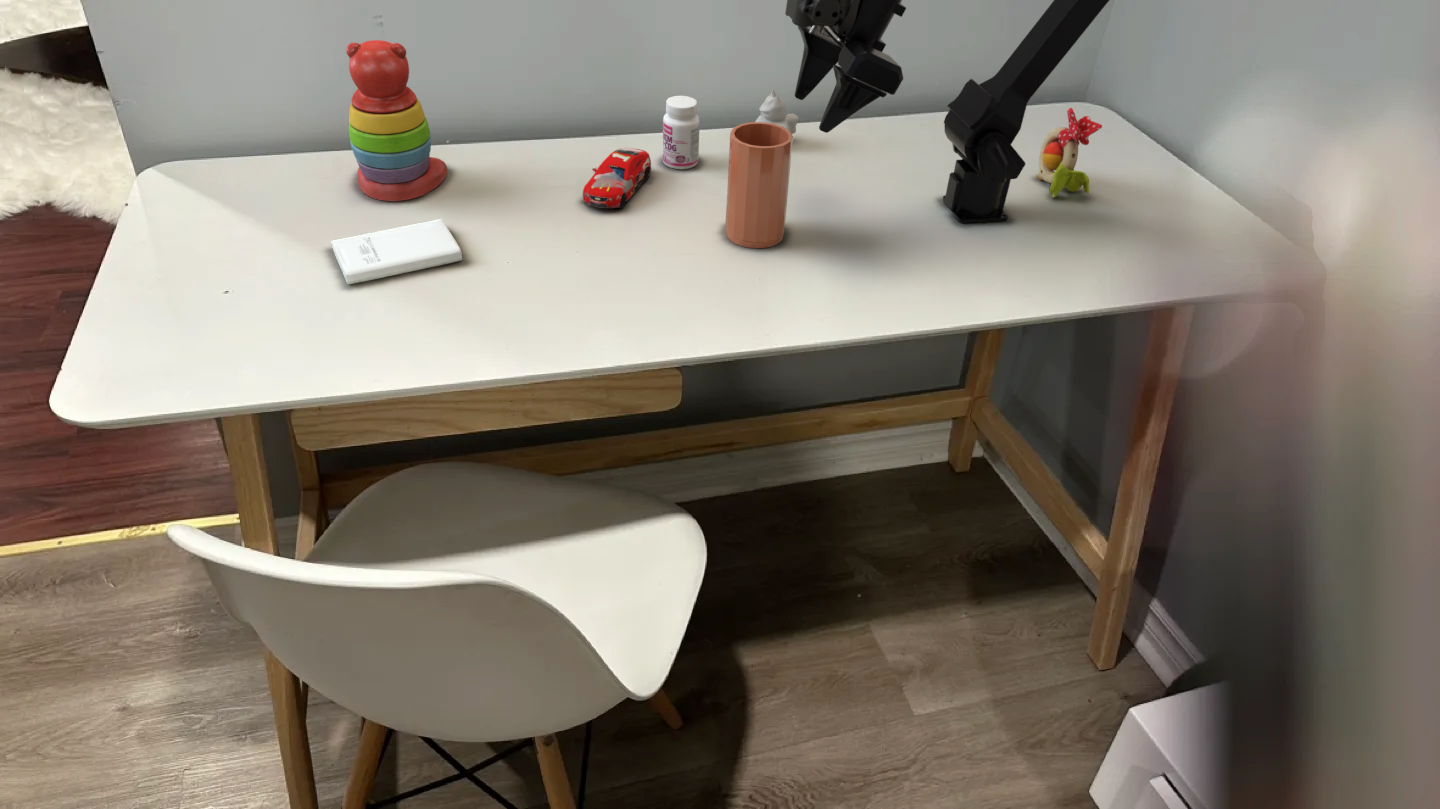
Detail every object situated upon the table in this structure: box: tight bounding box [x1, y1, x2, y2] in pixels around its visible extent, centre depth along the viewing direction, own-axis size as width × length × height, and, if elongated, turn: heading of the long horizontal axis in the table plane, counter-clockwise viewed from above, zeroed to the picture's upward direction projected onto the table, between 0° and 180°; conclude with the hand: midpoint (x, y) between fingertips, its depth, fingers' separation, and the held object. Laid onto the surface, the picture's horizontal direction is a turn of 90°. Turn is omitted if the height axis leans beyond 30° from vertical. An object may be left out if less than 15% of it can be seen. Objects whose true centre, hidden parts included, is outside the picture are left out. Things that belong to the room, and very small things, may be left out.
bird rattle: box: [1037, 107, 1103, 199], centre depth 129 cm, size 6×11×9 cm
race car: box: [582, 147, 652, 209], centre depth 125 cm, size 13×5×4 cm, turn 161°
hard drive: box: [330, 218, 463, 285], centre depth 111 cm, size 2×8×12 cm
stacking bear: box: [345, 39, 448, 202], centre depth 119 cm, size 11×10×18 cm
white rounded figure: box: [755, 87, 799, 135], centre depth 137 cm, size 5×7×8 cm
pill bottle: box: [662, 95, 701, 170], centre depth 130 cm, size 5×5×8 cm
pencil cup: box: [725, 121, 794, 249], centre depth 115 cm, size 7×7×12 cm
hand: (810, 114), depth 112 cm, fingers open, 9 cm apart
